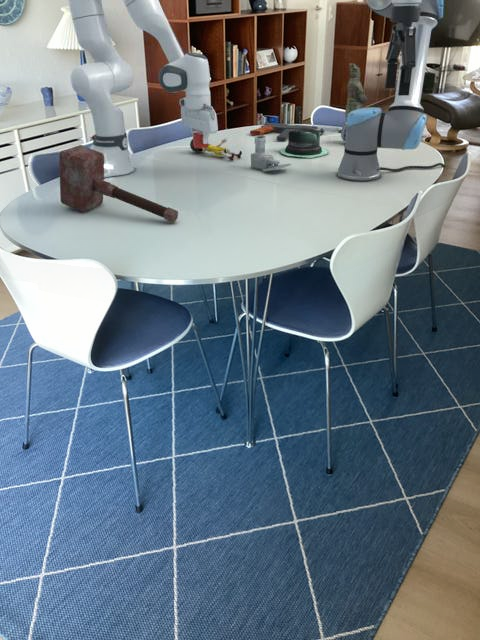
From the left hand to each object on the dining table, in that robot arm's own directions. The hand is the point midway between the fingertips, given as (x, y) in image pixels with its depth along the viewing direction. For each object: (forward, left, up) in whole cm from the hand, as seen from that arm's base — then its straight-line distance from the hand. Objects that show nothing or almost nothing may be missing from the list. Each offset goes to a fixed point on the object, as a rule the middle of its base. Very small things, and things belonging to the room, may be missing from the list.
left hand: (200, 141), depth 207 cm
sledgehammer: (-6, -51, -11) cm, 52 cm away
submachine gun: (+15, +68, -11) cm, 71 cm away
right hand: (+71, -23, +23) cm, 78 cm away
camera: (+24, +9, -11) cm, 28 cm away
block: (0, 0, -2) cm, 2 cm away
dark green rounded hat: (+31, +39, -11) cm, 51 cm away
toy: (+49, +60, -11) cm, 78 cm away
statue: (+44, +86, -11) cm, 97 cm away
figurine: (-4, +24, -11) cm, 27 cm away
